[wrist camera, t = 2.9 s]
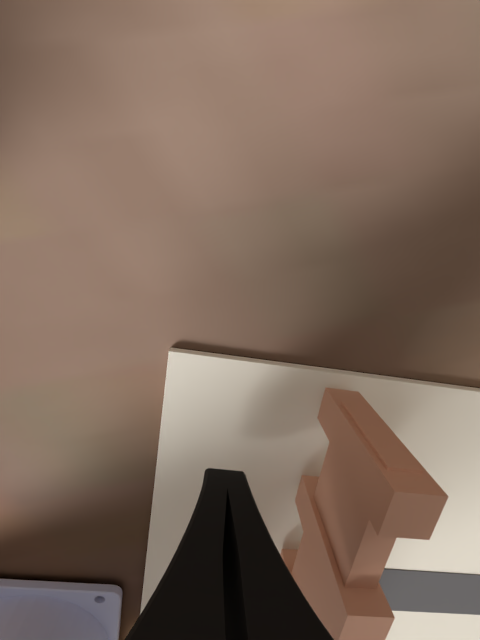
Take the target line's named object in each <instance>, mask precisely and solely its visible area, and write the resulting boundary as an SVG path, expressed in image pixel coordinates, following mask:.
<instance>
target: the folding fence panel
mask: <svg viewBox="0 0 480 640" xmlns="http://www.w3.org/2000/svg"><path fill="white" fill-rule="evenodd" d="M317 418H318V420H319V422H320V424H321V426H322V428H323V430H324V432H325V434H326V436H327V438H328V440H329V445H328V449H327V452H326V456H325V459H324V462H323V466H322V469H321V473H320V476H319V477H316V476H306V475H302V476H301V480H300V483H299V487H298V491H297V495H296V498H295V503H296V506H297V510H298V514H299V517H300V521H301V525H302V528H303V535H302V538H301V542H300V545H299V548H298V550H295V549H282V550H281V554H280V555H281V557H282V559H283V561H284V563H285V564H286V566H287V568H288V570H289V572H290V573H291V575H292V577H293V578H294V580H295V582H296V583H297V585H298V587H299V588H300V590H301V592H302V593H303V595H304V596H305V598H306V600H307V601H308V603H309V604H310V606H311V607H312V609H313V610H314V612H315V613H316V615H317V616H318V618H319V619H320V621H321V622H322V624H323V625H324V626H325V628H326V629H327V631H328V632H329V633H330V635H331V636H332V638H333V639H334V640H385V639H386V637H387V635H388V632H389V630H390V628H391V626H392V623H393V621H394V619H395V617H394V615H393V612H392V610H391V608H390V606H389V603H388V601H387V599H386V597H385V594H384V592H383V590H382V588H381V586H380V583H379V580H380V578H381V575H382V573H383V570H384V568H385V566H386V563H387V561H388V558H389V556H390V553H391V551H392V548H393V546H394V543H395V541H396V538H408V539H421V540H430V538H431V535H432V533H433V531H434V529H435V526H436V524H437V522H438V520H439V517H440V515H441V513H442V510H443V508H444V506H445V504H446V501H447V499H448V497H449V496H448V495H447V494H446V493H445V492H444V491H443V489H442V488H441V487H440V486H439V485H438V484H437V482H436V481H435V480H434V479H433V478H432V477H431V475H430V474H429V473H428V472H427V471H426V470H425V468H424V467H423V466H422V465H421V464H420V463H419V461H418V460H417V459H416V458H415V457H414V456H413V454H412V453H411V452H410V451H409V450H408V449H407V447H406V446H405V445H404V444H403V443H402V442H401V440H400V439H399V438H398V437H397V436H396V435H395V433H394V432H393V431H392V430H391V429H390V428H389V426H388V425H387V424H386V423H385V422H384V421H383V419H382V418H381V417H380V416H379V415H378V414H377V412H376V411H375V410H374V409H373V408H372V407H371V405H370V404H369V403H368V402H367V401H366V400H365V398H364V397H363V396H362V395H361V394H360V393H359V392H357V391H349V390H341V389H333V388H325V391H324V395H323V398H322V402H321V406H320V410H319V413H318V417H317Z"/></svg>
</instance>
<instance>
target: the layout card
mask: <svg viewBox="0 0 480 640" xmlns="http://www.w3.org/2000/svg"><path fill="white" fill-rule="evenodd" d="M325 388H333V389H341V390H349V391H357V392H359V393H360V394H361V395H362V396H363V397H364V398H365V400H366V401H367V402H368V403H369V404H370V405H371V407H372V408H373V409H374V410H375V411H376V412H377V414H378V415H379V416H380V417H381V418H382V419H383V421H384V422H385V423H386V424H387V425H388V426H389V428H390V429H391V430H392V431H393V432H394V433H395V435H396V436H397V437H398V438H399V439H400V440H401V442H402V443H403V444H404V445H405V446H406V447H407V449H408V450H409V451H410V452H411V453H412V454H413V456H414V457H415V458H416V459H417V460H418V461H419V463H420V464H421V465H422V466H423V467H424V468H425V470H426V471H427V472H428V473H429V474H430V475H431V477H432V478H433V479H434V480H435V481H436V482H437V484H438V485H439V486H440V487H441V488H442V489H443V491H444V492H445V493H446V494H447V495H448V496H449V497H448V499H447V501H446V504H445V506H444V508H443V510H442V513H441V515H440V517H439V520H438V522H437V524H436V526H435V529H434V531H433V533H432V535H431V538H430V540H421V539H408V538H396V541H395V543H394V546H393V548H392V551H391V553H390V556H389V558H388V561H387V563H386V566H385V568H384V570H383V573H382V575H381V578H380V580H379V583H380V586H381V588H382V590H383V592H384V594H385V597H386V599H387V601H388V603H389V606H390V608H391V610H392V612H393V615H394V617H395V619H394V621H393V623H392V626H391V628H390V630H389V632H388V635H387V637H386V639H385V640H480V388H474V387H466V386H458V385H451V384H443V383H436V382H428V381H421V380H413V379H406V378H398V377H391V376H383V375H375V374H368V373H360V372H353V371H345V370H338V369H330V368H323V367H315V366H307V365H300V364H292V363H285V362H277V361H270V360H262V359H255V358H247V357H239V356H232V355H224V354H217V353H209V352H202V351H194V350H187V349H179V348H172V347H171V348H170V350H169V354H168V363H167V373H166V382H165V391H164V400H163V409H162V418H161V427H160V437H159V446H158V455H157V464H156V473H155V482H154V492H153V501H152V510H151V519H150V528H149V537H148V546H147V556H146V565H145V574H144V583H143V592H142V601H141V611H140V615H141V613H142V611H143V610H144V608H145V606H146V604H147V603H148V601H149V599H150V598H151V596H152V594H153V593H154V591H155V589H156V587H157V586H158V584H159V582H160V580H161V579H162V577H163V575H164V573H165V571H166V569H167V567H168V566H169V564H170V562H171V560H172V558H173V556H174V554H175V552H176V550H177V548H178V546H179V543H180V541H181V539H182V537H183V535H184V533H185V531H186V528H187V526H188V524H189V522H190V519H191V516H192V514H193V511H194V509H195V506H196V504H197V501H198V498H199V495H200V492H201V488H202V484H203V478H204V472H205V470H206V469H208V468H214V469H224V470H235V471H243V472H244V473H245V475H246V478H247V481H248V484H249V487H250V490H251V492H252V495H253V497H254V500H255V502H256V505H257V507H258V510H259V512H260V514H261V516H262V519H263V521H264V523H265V525H266V527H267V529H268V532H269V534H270V536H271V538H272V540H273V542H274V544H275V546H276V548H277V549H278V551H279V553H280V554H281V550H282V549H295V550H298V548H299V545H300V542H301V538H302V535H303V528H302V525H301V521H300V517H299V514H298V510H297V506H296V503H295V498H296V495H297V491H298V487H299V483H300V480H301V476H302V475H306V476H316V477H319V476H320V473H321V469H322V466H323V462H324V459H325V456H326V452H327V449H328V445H329V440H328V438H327V436H326V434H325V432H324V430H323V428H322V426H321V424H320V422H319V420H318V418H317V417H318V413H319V410H320V406H321V402H322V398H323V395H324V391H325Z"/></svg>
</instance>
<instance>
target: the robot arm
mask: <svg viewBox="0 0 480 640" xmlns="http://www.w3.org/2000/svg"><path fill="white" fill-rule="evenodd" d="M122 595H123V592H122V589H121V588H120V587H119V586H117V585H111V584H92V583H74V582H55V581H36V580H18V579H0V640H119V630H120V619H121V607H122ZM125 640H334V639H333V638H332V636H331V635H330V633H329V632H328V631H327V629H326V628H325V626H324V625H323V624H322V622H321V621H320V619H319V618H318V616H317V615H316V613H315V612H314V610H313V609H312V607H311V606H310V604H309V603H308V601H307V600H306V598H305V596H304V595H303V593H302V592H301V590H300V588H299V587H298V585H297V583H296V582H295V580H294V578H293V577H292V575H291V573H290V572H289V570H288V568H287V566H286V564H285V563H284V561H283V559H282V557H281V555H280V553H279V551H278V549H277V548H276V546H275V544H274V542H273V540H272V538H271V536H270V534H269V532H268V529H267V527H266V525H265V523H264V521H263V519H262V516H261V514H260V512H259V510H258V507H257V505H256V502H255V500H254V497H253V495H252V492H251V490H250V487H249V484H248V481H247V478H246V475H245V473H244V472H243V471H235V470H224V469H214V468H208V469H206V470H205V472H204V478H203V484H202V488H201V492H200V495H199V498H198V501H197V504H196V506H195V509H194V511H193V514H192V516H191V519H190V522H189V524H188V526H187V528H186V531H185V533H184V535H183V537H182V539H181V541H180V543H179V546H178V548H177V550H176V552H175V554H174V556H173V558H172V560H171V562H170V564H169V566H168V567H167V569H166V571H165V573H164V575H163V577H162V579H161V580H160V582H159V584H158V586H157V587H156V589H155V591H154V593H153V594H152V596H151V598H150V599H149V601H148V603H147V604H146V606H145V608H144V610H143V611H142V613H141V615H140V616H139V618H138V619H137V621H136V623H135V624H134V626H133V627H132V629H131V630H130V632H129V633H128V635H127V636H126V638H125Z"/></svg>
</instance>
